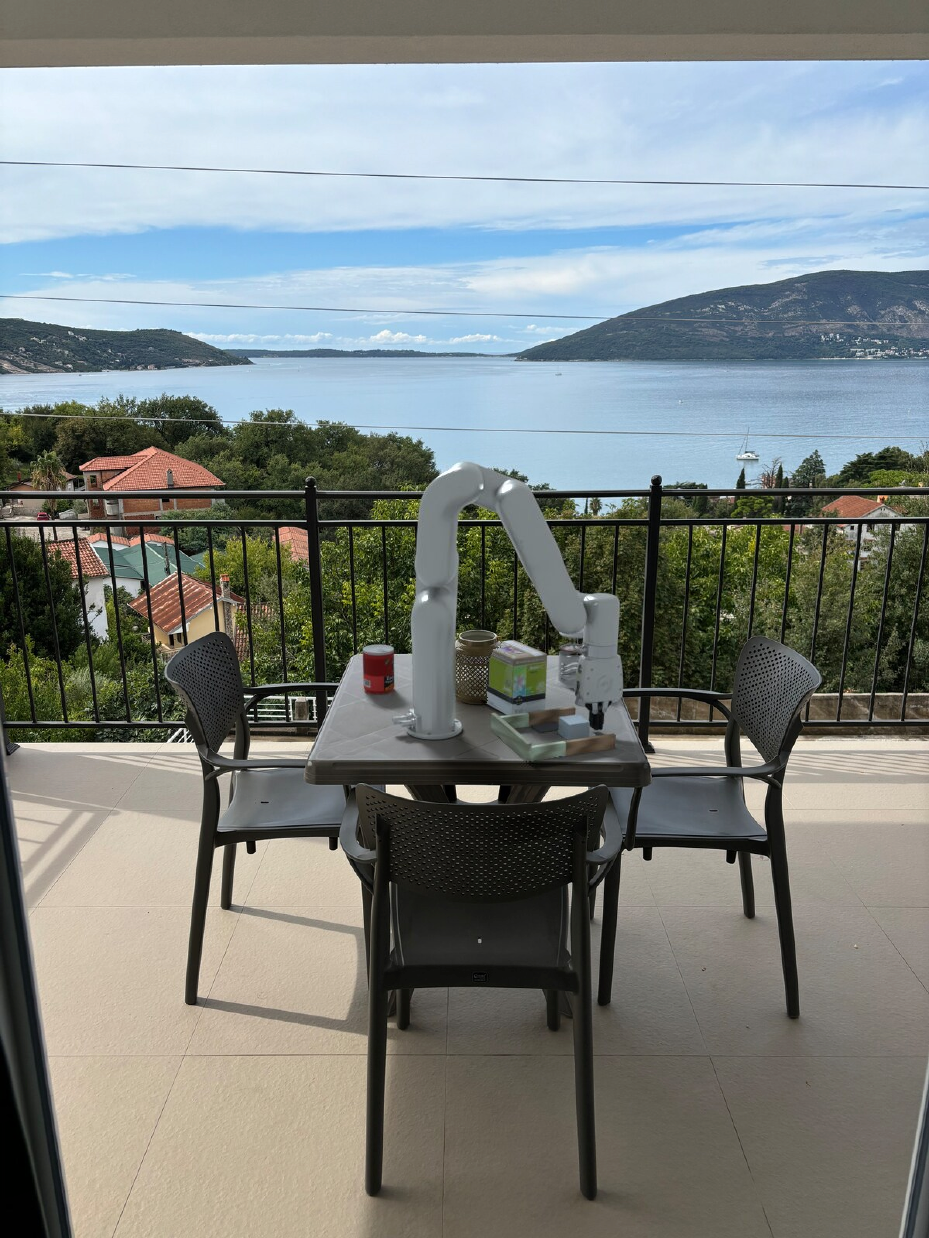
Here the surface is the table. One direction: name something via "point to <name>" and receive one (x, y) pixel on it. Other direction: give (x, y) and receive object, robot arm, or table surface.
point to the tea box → (517, 678)
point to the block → (573, 727)
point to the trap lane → (524, 748)
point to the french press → (568, 661)
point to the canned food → (378, 669)
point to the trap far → (545, 727)
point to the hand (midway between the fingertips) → (596, 727)
